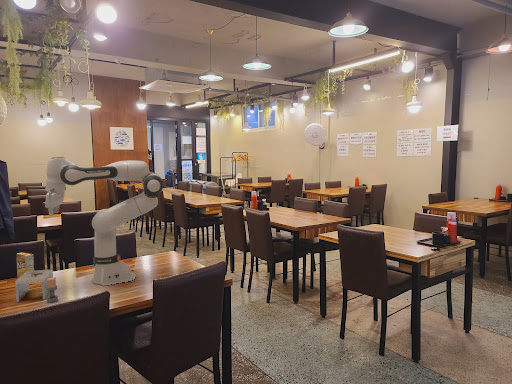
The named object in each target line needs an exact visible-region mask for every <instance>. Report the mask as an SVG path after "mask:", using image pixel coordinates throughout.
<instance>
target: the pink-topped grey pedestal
mask: <svg viewBox="0 0 512 384" xmlns="http://www.w3.org/2000/svg"><path fill="white" fill-rule="evenodd" d="M46 289H47V291H50V293H49V295H48V296H47V298H46V303H48V304H54V303H57V302H59V297H58V295H56V294H55V293H56V292H55V291H56V290H57V289H58V285H57V279H56V276H55V277H53V278H48V279H47V288H46Z"/></svg>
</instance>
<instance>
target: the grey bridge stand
mask: <svg viewBox="0 0 512 384" xmlns="http://www.w3.org/2000/svg"><path fill="white" fill-rule="evenodd" d="M32 274H34V275H36V274H37V276H34V277H32V278H31V275H32ZM48 278H54V271H53V269H41V270H40V269H39V270H34V271H26V272H25V273H24V274H23V275H22V276H21V277H19V278H18V277H17V279H16V280H15V281H14V283H15V285H14V286H15V298H16V299H15V300H16V303H19V302H20V301H21V300H23V298H24V297H25V296H26V295H27V294H28V293H29V291H30V284H31V283H41V290H42V291H41V292H42V300H47V297H49V296H50V291H47V289H46V288H47V279H48Z"/></svg>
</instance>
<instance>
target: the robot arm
mask: <svg viewBox="0 0 512 384" xmlns="http://www.w3.org/2000/svg"><path fill="white" fill-rule="evenodd" d="M94 180H95V181H96V180H112V181H121V182H123V181H124V182H125V181H126V182H129V181H139V182H141V185H142V187H143V191H142V192H140V194H137V195H135V196H132V197H130V198H128V199H126V200H123V201H122V202H119V203H117V204H115V205H113V206H111V207H109V208H103V209H100V210H98V212H96V213H95V215H94V216H93V217H92V219H91V227H92V228H93V229H94V239H93V245H94V246H93V247H94V255H93V266H94V269H93V270H94V271H93V277H92V283H93V284H95V285H100V286H104V287H105V286H111V284H112V285H117V284H116V283H119V284H123V283H122V282H125V283H129V282H128V281H131V282H133V281H134V279H135V280H136V278H135V277H136V276H137V275H136V273H134V272H133V271H132V269H131V266H130V265H129V264H128V263H126V262H124V261H123V260H121V254H119V253H117V238H116V237H117V228H118V227H120V226H122V225H123V224H126V223H127V222H130V221H132V220H134V219H135V218H138V217H140V216H143V215H145V214H147V213H149V212H150V211H152V210H154V209H155V208H156V207H157V206H158V204H159V199H158V196H159V195H160V193H161V192H162V191H163V189H164V186H165V185H164V181H163V178H162V177H161V176H160V175H159V174H158V173H155V172H153V171H151V170H150V166H149V164H148V163H147V162H146V161H143V160H133V159H132V160H131V159H129V160H120V161H114V162H112V163H109V164H107V165H103V166H96V167H95V166H94V167H83V166H82V165H79V164H76V163H74V162H72V161H70V160H69V159H67V158H66V157H64V156H55V157H51V158H49V159H48V162H47V166H46V180H45V189H44V191H45V192H47V193H46V196H45V203H44V206H45V208H46V209H47V210H48V216H49V217H53V216H54V214H58V213H59V210H60V205H62V204H63V203H64V199H65V193H66V192H65V191H67V185H68V186H75V185H78V184H80V183H82V182H85V181H94ZM132 280H133V281H132Z"/></svg>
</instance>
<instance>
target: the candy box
mask: <svg viewBox="0 0 512 384" xmlns="http://www.w3.org/2000/svg"><path fill="white" fill-rule="evenodd" d="M34 260H35V259H34V253H28V252H23V251H22V252H18V253H16V271H17V279H18V278H19V277H21V276H22V275H23V274H24V273H25V272H26V271H35V261H34ZM32 277H35V274H32V275H31V278H32Z"/></svg>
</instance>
